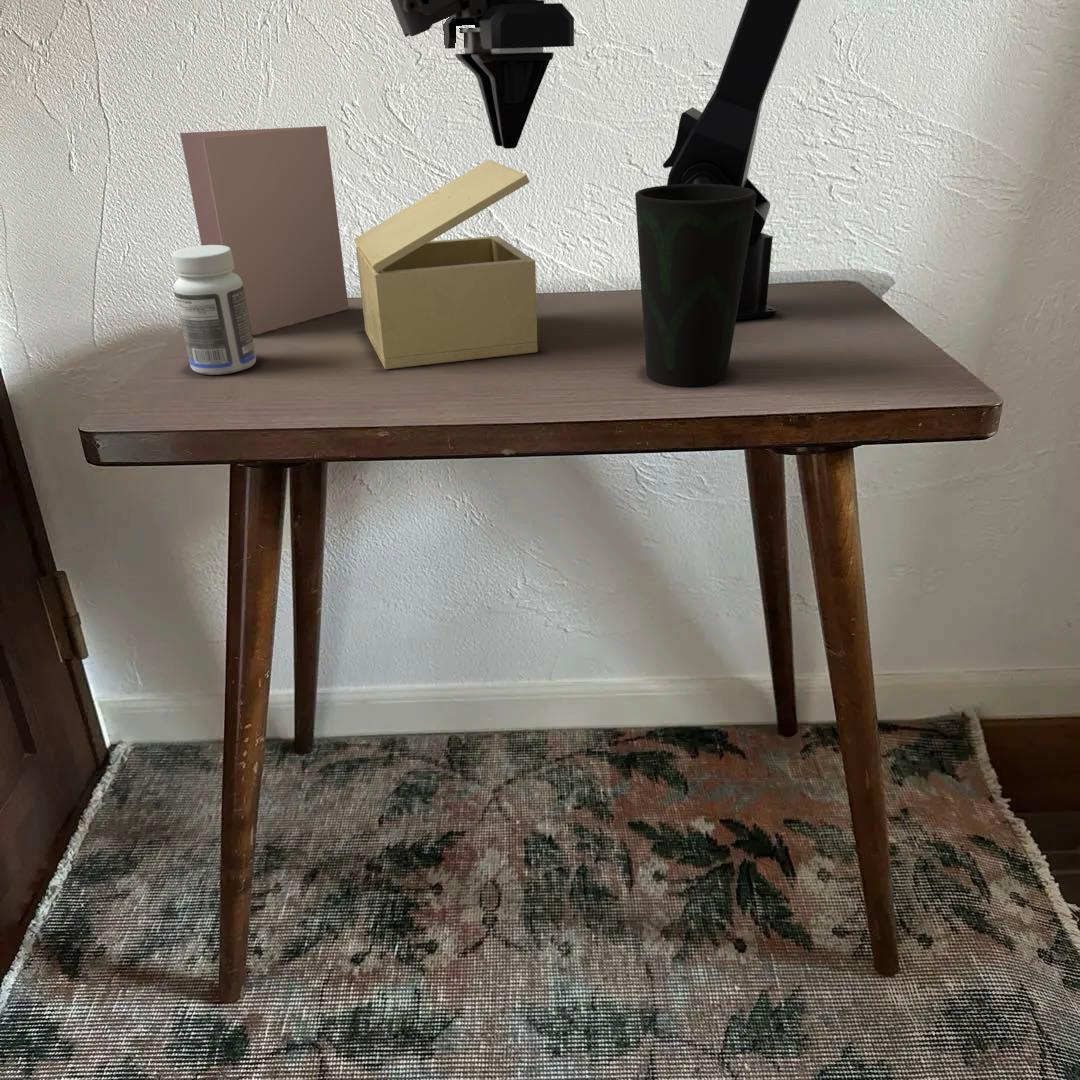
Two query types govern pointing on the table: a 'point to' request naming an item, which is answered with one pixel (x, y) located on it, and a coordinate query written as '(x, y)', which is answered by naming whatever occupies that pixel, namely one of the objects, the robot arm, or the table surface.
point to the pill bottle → (213, 310)
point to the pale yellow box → (451, 303)
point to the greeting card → (271, 218)
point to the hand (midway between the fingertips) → (505, 147)
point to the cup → (691, 277)
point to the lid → (438, 213)
